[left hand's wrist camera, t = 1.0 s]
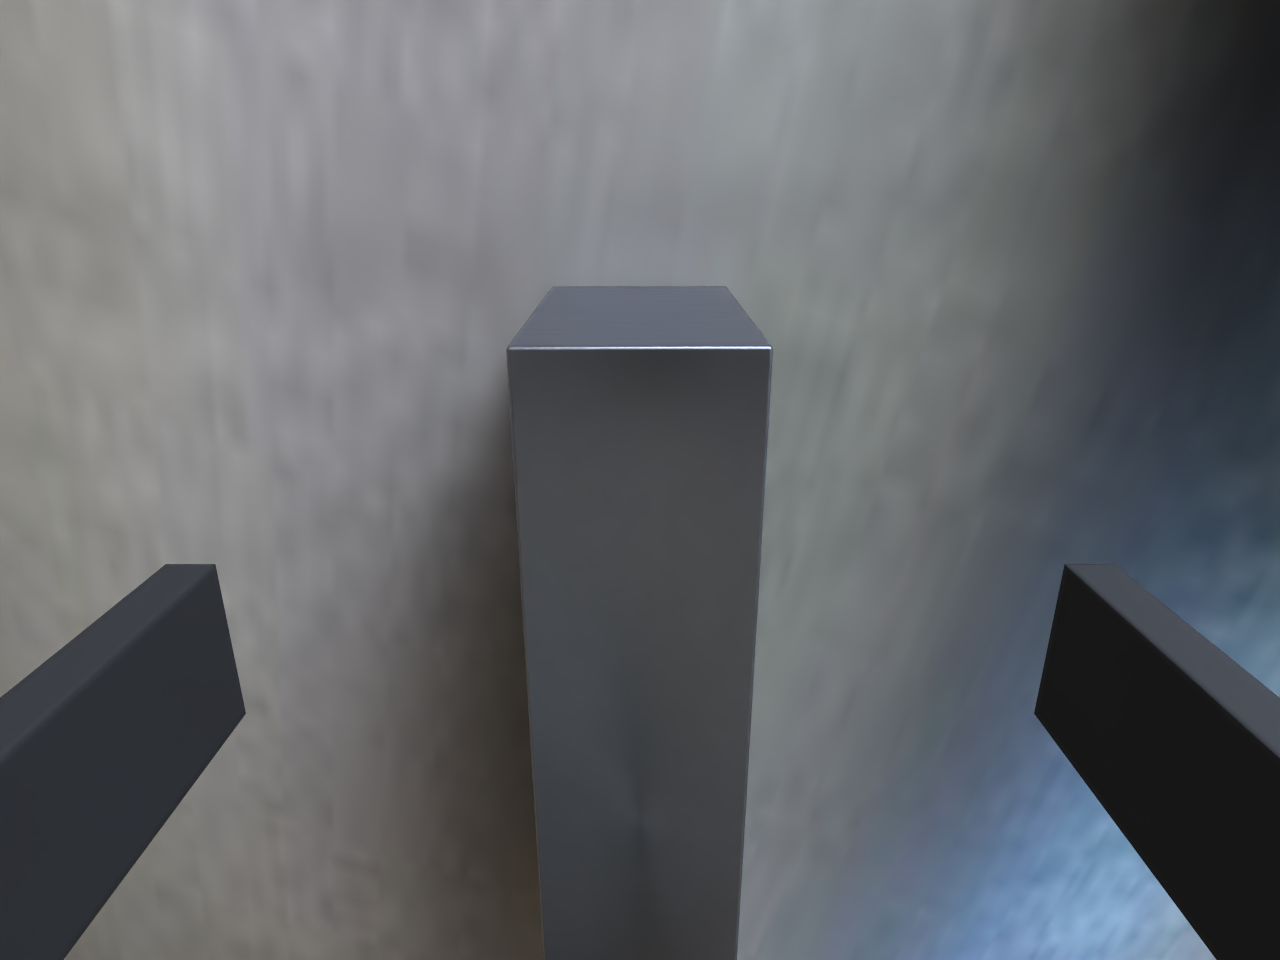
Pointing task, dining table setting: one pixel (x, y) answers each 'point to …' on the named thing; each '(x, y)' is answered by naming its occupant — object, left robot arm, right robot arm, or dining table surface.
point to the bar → (639, 610)
